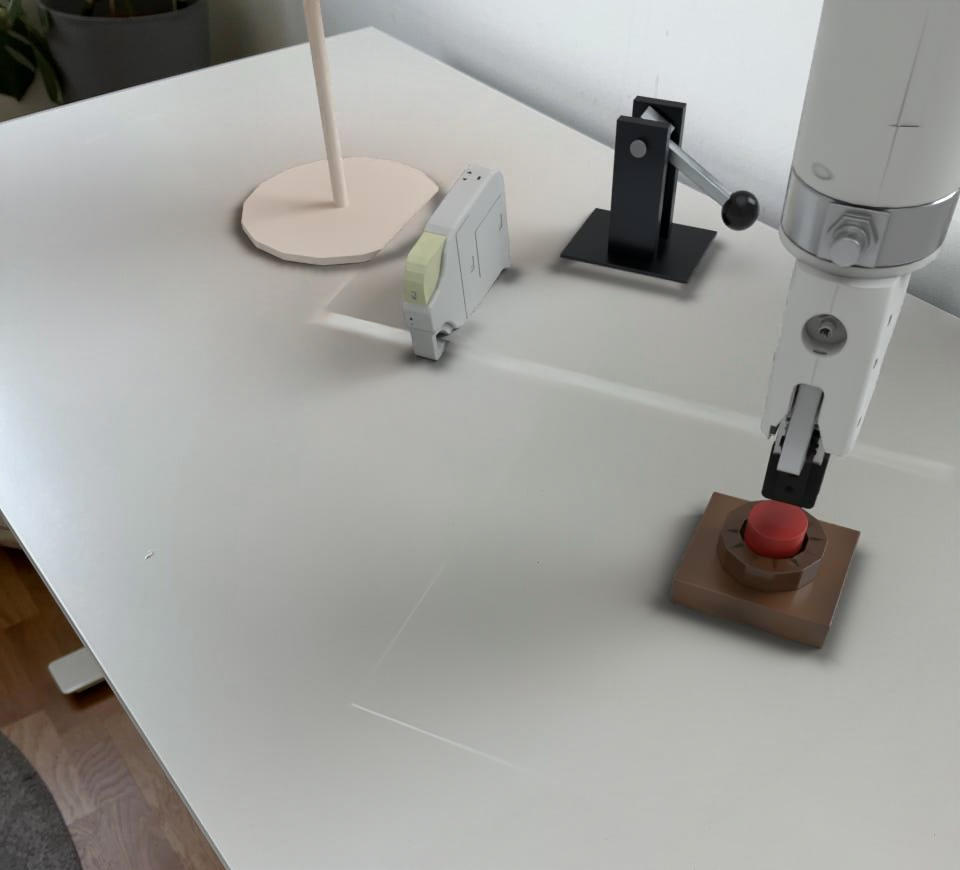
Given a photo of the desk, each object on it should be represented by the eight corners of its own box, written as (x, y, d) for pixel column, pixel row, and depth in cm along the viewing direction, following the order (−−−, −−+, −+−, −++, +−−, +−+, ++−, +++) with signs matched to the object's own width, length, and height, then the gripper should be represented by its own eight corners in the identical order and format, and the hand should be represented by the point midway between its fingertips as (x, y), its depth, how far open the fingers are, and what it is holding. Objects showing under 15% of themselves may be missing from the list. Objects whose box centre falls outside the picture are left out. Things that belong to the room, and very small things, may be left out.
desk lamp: (295, 333, 85) (204, -105, 61) (141, 207, 100) (18, -185, 76) (552, 215, 96) (561, -196, 72) (378, 117, 111) (337, -250, 87)
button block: (852, 554, 67) (868, 511, 63) (822, 649, 62) (837, 608, 58) (709, 513, 69) (717, 470, 66) (668, 602, 64) (676, 559, 61)
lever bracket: (715, 244, 92) (738, 99, 82) (685, 294, 87) (706, 146, 77) (594, 220, 95) (603, 79, 85) (559, 266, 90) (564, 122, 80)
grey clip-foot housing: (412, 376, 84) (485, 266, 91) (442, 383, 83) (512, 272, 90) (390, 266, 75) (472, 152, 81) (423, 273, 74) (503, 158, 80)
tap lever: (747, 227, 86) (771, 200, 84) (737, 245, 85) (761, 218, 82) (632, 129, 85) (654, 98, 82) (620, 145, 83) (641, 114, 80)
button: (807, 528, 63) (814, 508, 62) (794, 566, 61) (800, 546, 60) (752, 513, 64) (757, 493, 63) (737, 550, 62) (742, 530, 61)
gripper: (921, 309, 41) (822, 598, 55) (975, 146, 49) (877, 435, 63) (742, 274, 43) (692, 561, 57) (823, 123, 51) (761, 407, 65)
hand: (789, 494), depth 60 cm, fingers closed
